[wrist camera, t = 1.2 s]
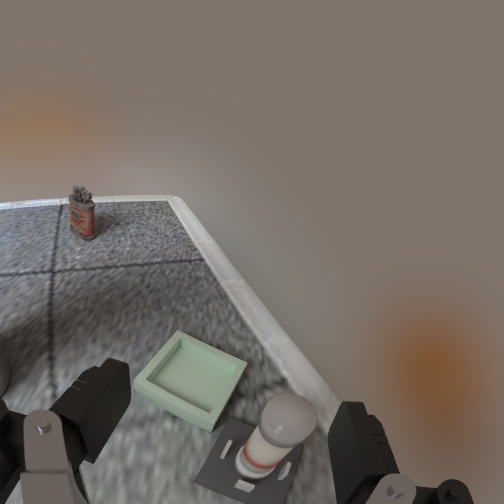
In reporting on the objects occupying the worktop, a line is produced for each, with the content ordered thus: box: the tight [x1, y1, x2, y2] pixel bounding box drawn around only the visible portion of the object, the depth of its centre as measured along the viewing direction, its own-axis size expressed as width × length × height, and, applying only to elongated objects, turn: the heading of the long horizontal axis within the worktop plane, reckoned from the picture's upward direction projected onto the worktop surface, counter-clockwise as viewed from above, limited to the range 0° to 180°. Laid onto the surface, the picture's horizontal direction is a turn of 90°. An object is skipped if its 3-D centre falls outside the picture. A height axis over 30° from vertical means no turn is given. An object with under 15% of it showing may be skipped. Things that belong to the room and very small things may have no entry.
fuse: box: [234, 393, 318, 480], centre depth 22 cm, size 4×4×12 cm
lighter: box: [69, 186, 95, 241], centre depth 52 cm, size 8×3×10 cm, turn 63°
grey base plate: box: [194, 417, 303, 504], centre depth 24 cm, size 9×9×3 cm
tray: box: [134, 330, 247, 433], centre depth 32 cm, size 10×10×2 cm
